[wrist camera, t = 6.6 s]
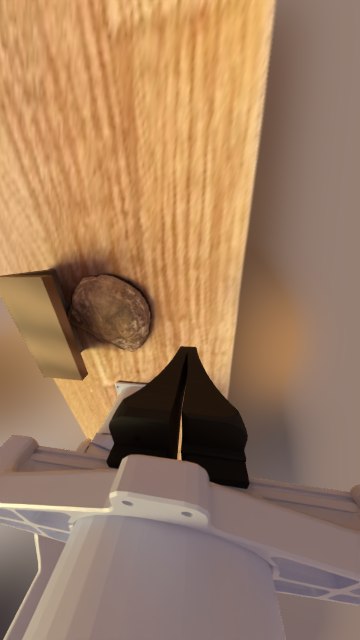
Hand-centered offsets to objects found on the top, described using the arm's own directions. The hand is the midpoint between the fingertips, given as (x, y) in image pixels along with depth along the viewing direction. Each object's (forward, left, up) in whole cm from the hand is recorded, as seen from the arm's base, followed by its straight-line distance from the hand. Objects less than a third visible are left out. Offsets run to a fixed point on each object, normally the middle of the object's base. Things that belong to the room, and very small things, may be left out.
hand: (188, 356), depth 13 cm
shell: (0, +12, -10) cm, 16 cm away
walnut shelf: (-1, +18, -10) cm, 21 cm away
